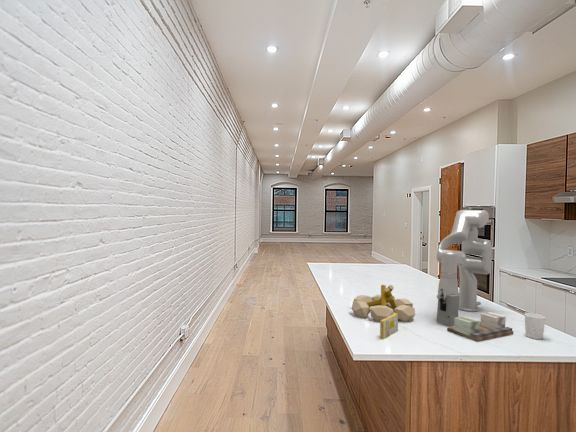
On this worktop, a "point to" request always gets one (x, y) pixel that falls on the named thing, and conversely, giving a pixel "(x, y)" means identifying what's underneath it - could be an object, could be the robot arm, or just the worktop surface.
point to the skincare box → (448, 310)
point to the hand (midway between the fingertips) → (448, 309)
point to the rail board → (481, 327)
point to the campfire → (383, 306)
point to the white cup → (534, 325)
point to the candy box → (388, 326)
